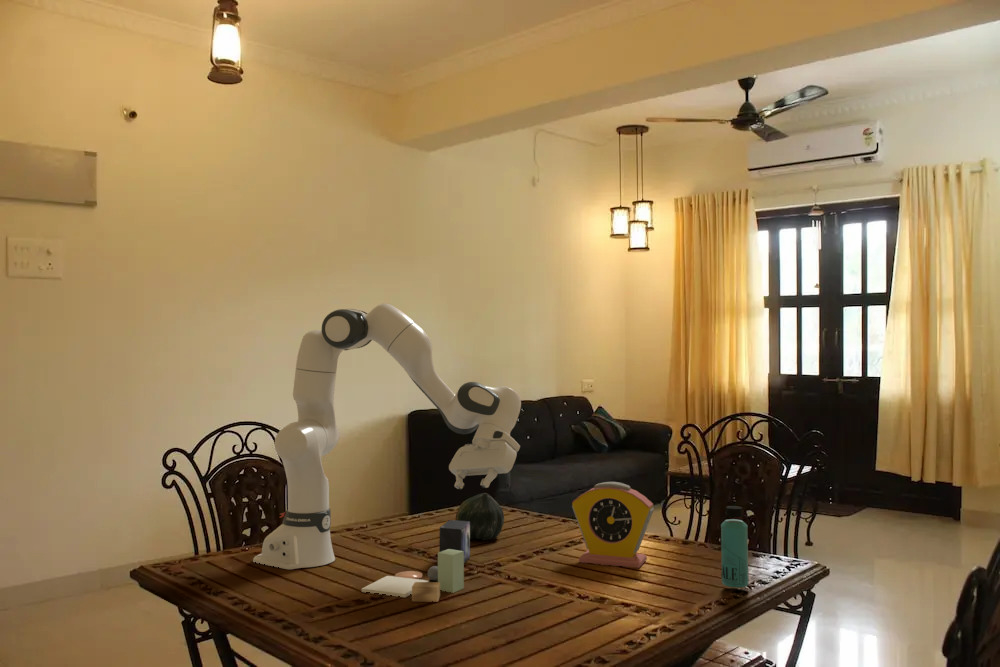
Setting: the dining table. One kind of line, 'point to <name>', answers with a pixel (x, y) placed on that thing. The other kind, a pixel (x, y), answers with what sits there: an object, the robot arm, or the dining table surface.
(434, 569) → the rubber ball
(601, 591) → the dining table surface
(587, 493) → the retro mantel clock
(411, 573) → the peach flat disc
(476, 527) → the squash
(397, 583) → the beige mat
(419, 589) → the oak block
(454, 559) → the sage block
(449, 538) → the small box
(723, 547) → the beverage bottle
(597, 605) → the dining table surface
